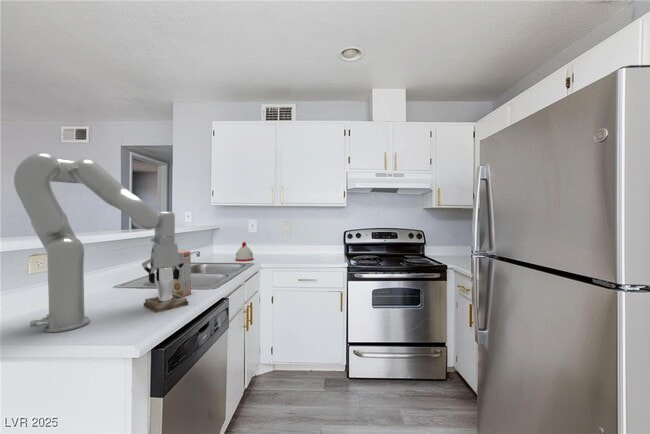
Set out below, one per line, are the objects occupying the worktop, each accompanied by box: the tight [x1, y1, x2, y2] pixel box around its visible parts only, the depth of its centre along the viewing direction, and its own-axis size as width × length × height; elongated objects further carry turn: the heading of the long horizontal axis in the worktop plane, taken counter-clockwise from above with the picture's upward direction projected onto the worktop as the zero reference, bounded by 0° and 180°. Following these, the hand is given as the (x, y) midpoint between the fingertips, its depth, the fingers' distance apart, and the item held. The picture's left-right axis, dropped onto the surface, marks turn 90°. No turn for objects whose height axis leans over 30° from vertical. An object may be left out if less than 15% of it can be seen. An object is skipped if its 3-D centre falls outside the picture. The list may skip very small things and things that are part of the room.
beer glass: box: [154, 267, 174, 303], centre depth 129 cm, size 7×7×15 cm
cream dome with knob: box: [235, 241, 254, 262], centre depth 249 cm, size 14×14×15 cm
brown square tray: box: [143, 293, 189, 314], centre depth 129 cm, size 13×13×3 cm
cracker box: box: [172, 250, 192, 297], centre depth 146 cm, size 14×6×21 cm, turn 72°
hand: (164, 280), depth 129 cm, fingers open, 9 cm apart
